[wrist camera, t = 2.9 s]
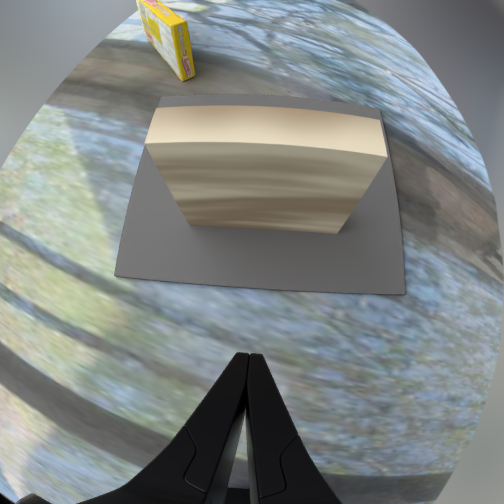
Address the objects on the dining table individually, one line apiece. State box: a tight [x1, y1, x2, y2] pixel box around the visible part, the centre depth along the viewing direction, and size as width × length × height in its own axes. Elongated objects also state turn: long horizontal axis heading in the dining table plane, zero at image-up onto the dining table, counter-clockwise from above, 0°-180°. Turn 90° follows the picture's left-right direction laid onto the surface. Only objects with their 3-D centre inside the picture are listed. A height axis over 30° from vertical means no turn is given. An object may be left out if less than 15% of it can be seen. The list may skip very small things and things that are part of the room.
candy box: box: [136, 0, 195, 81], centre depth 28 cm, size 16×2×8 cm, turn 31°
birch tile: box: [144, 105, 388, 234], centre depth 19 cm, size 2×12×11 cm, turn 86°
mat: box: [114, 94, 405, 295], centre depth 25 cm, size 20×24×1 cm
